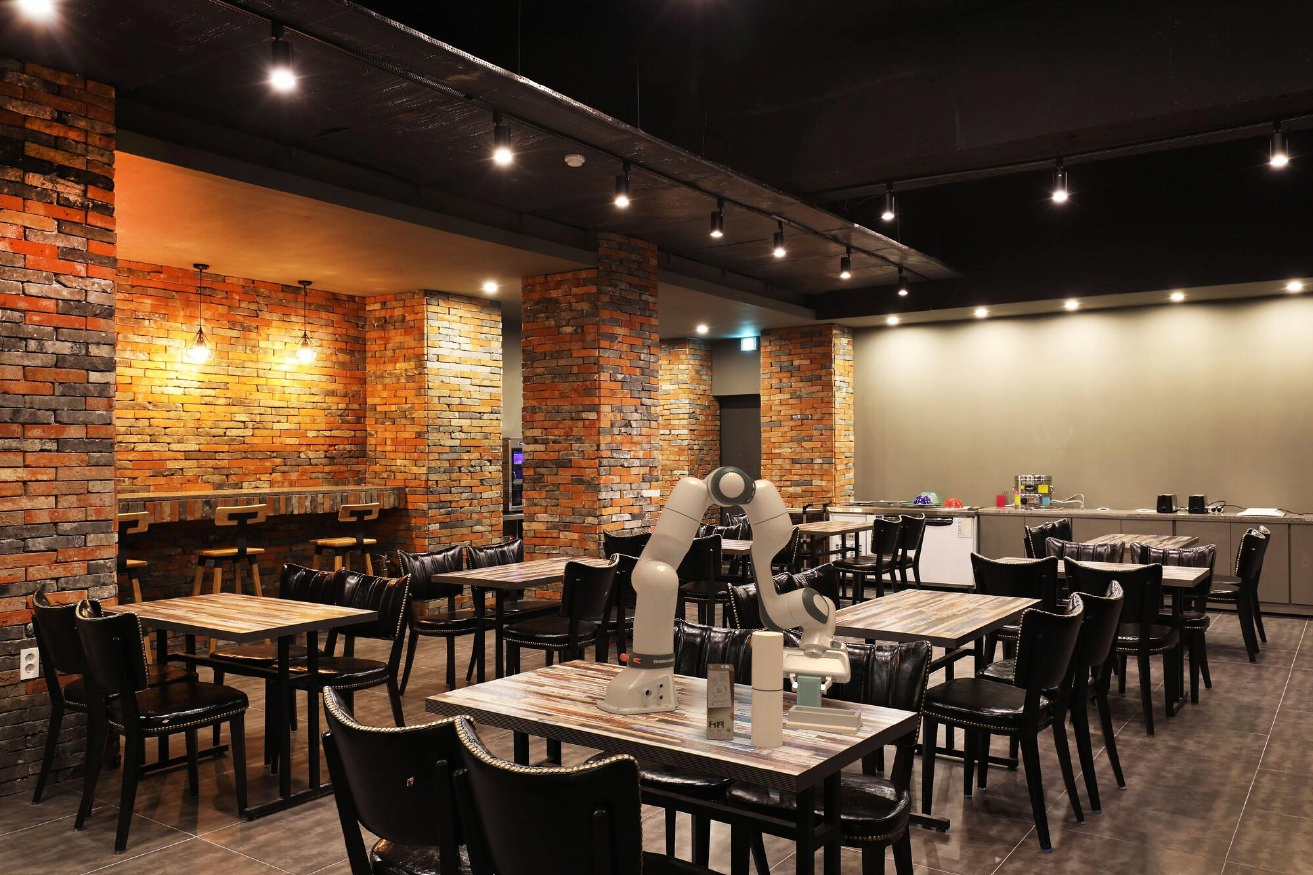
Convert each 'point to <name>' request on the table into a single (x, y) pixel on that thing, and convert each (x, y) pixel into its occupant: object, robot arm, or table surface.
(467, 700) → the table surface
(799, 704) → the door
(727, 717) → the coffee box
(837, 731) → the track
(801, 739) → the table surface
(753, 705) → the cylindrical container
